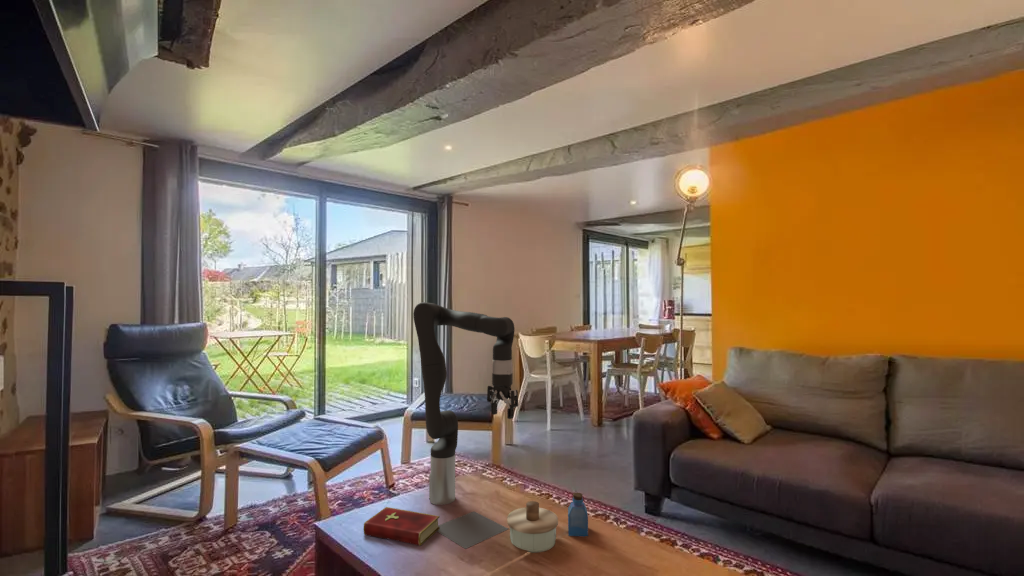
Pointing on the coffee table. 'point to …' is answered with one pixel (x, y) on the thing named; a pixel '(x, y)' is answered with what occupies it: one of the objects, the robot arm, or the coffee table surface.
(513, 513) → the lid
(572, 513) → the perfume bottle
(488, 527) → the mat
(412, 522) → the hardcover book
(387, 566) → the coffee table surface
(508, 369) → the robot arm
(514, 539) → the bowl
